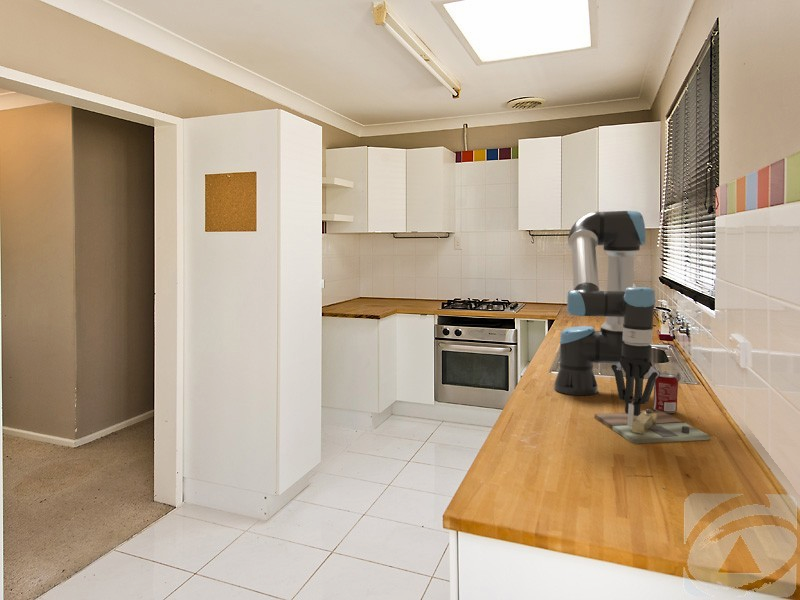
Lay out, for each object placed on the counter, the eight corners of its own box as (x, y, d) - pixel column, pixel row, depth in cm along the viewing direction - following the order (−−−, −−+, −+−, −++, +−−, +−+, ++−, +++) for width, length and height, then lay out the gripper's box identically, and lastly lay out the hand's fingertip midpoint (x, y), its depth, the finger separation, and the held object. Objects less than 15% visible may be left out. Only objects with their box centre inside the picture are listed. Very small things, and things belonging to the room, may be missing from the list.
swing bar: (643, 419, 157) (643, 406, 157) (657, 422, 155) (658, 409, 154) (630, 431, 147) (630, 418, 147) (645, 434, 144) (646, 420, 144)
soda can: (679, 415, 166) (681, 377, 165) (656, 414, 167) (657, 376, 166) (673, 408, 172) (674, 372, 171) (650, 407, 174) (652, 371, 173)
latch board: (594, 417, 164) (594, 409, 164) (661, 414, 166) (661, 406, 166) (633, 443, 142) (633, 433, 142) (709, 439, 145) (710, 430, 144)
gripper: (607, 341, 149) (603, 422, 151) (655, 348, 139) (649, 435, 142) (620, 338, 154) (615, 417, 156) (666, 344, 144) (661, 428, 147)
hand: (631, 425), depth 149 cm, fingers closed
